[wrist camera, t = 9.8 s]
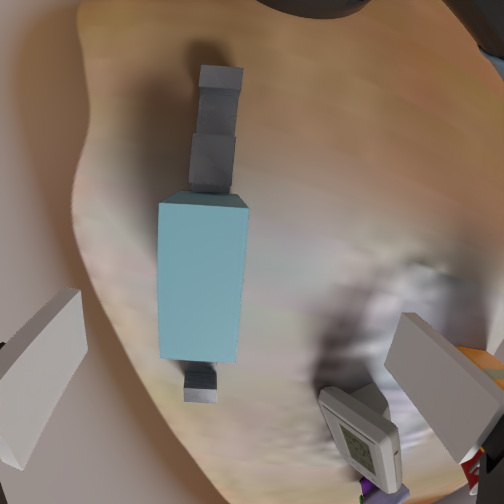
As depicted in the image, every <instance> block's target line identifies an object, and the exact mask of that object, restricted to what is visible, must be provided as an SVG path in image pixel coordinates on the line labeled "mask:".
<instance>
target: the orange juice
mask: <svg viewBox="0 0 504 504" xmlns="http://www.w3.org/2000/svg"><path fill="white" fill-rule="evenodd" d="M456 348H457V349H458V350H459V351H461V352H462V353H463V354H464V355H465V356H466V357H467V358H468V359H470V360H471V361H472V362H473V363H474V364H475V365H476V366H477V367H478V368H480V369H481V370H482V371H483V372H484V373H485V374H486V375H487V376H488V377H489V378H490V379H492V380H493V381H494V382H495V383H496V384H497V385H498V386H499V387H500V388H501V389H502V390H503V391H504V365H503V364H502V363H501V362H500V361H498V360H497V359H496V358H495V357H493V356H492V355H491V354H490V353H488V352H487V351H484V350H478V349H472V348H466V347H460V346H457V347H456ZM480 449H481V451H482V452H484V451H485V450H484V449H483V448H482V447H480Z"/></svg>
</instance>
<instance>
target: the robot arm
mask: <svg viewBox="0 0 504 504" xmlns="http://www.w3.org/2000/svg"><path fill="white" fill-rule="evenodd" d="M257 1H259V2H261V3H263V4H264V5H267V6H269V7H271V8H273V9H276V10H278V11H281V12H284V13H287V14H291V15H295V16H299V17H305V18H313V19H335V18H341V17H345V16H348V15H351V14H353V13H356V12H357V11H359V10H360V9H362V8H363V7H364V6H365V5H366V4H367V3H368V2H369V1H370V0H257ZM442 1H443V2H444V3H445V4H446V5H447V6H448V7H449V9H450V10H451V11H452V12H453V13H454V14H455V16H456V17H457V18H458V19H459V20H460V22H461V23H462V24H463V25H464V27H465V28H466V29H467V30H468V32H469V33H470V34H471V36H472V37H473V38H474V40H475V41H476V42H477V45H478V47H479V50H480V52H481V53H482V54H483V55H484V56H485V57H486V58H487V59H489V60H490V62H491V63H492V65H493V66H494V67H495V69H496V70H497V72H498V73H499V75H500V76H501V78H502V79H503V81H504V0H442ZM87 351H88V348H87V342H86V334H85V327H84V319H83V310H82V300H81V291H80V290H78V289H70V288H65V287H64V288H63V289H62V290H61V291H60V292H58V293H57V294H56V295H55V296H54V297H53V298H52V299H51V300H50V301H49V302H48V303H47V304H46V305H45V306H44V307H42V308H41V309H40V310H39V311H38V312H37V313H36V314H35V315H34V316H33V317H32V318H31V319H30V320H29V321H28V322H27V323H26V324H25V325H24V326H23V327H22V328H21V329H20V330H19V331H18V332H17V333H16V334H15V335H14V336H13V337H12V338H11V339H10V340H9V341H8V342H7V343H4V342H2V343H0V458H1V460H2V461H3V462H4V463H7V464H9V465H11V466H13V467H15V468H18V469H20V470H22V471H24V468H25V466H26V464H27V462H28V460H29V458H30V456H31V454H32V451H33V449H34V447H35V445H36V443H37V441H38V439H39V437H40V435H41V433H42V431H43V429H44V427H45V425H46V423H47V421H48V420H49V418H50V416H51V414H52V412H53V410H54V408H55V406H56V404H57V403H58V401H59V399H60V397H61V395H62V394H63V392H64V390H65V388H66V387H67V385H68V383H69V381H70V379H71V378H72V376H73V374H74V373H75V371H76V369H77V367H78V366H79V364H80V362H81V361H82V359H83V357H84V356H85V354H86V352H87ZM384 366H385V367H386V368H387V370H388V371H389V372H390V374H391V375H392V376H393V378H394V379H395V380H396V381H397V383H398V384H399V385H400V387H401V388H402V389H403V391H404V392H405V393H406V395H407V396H408V397H409V399H410V400H411V401H412V403H413V404H414V405H415V407H416V408H417V409H418V411H419V412H420V413H421V415H422V416H423V417H424V419H425V420H426V421H427V423H428V424H429V425H430V427H431V428H432V429H433V431H434V432H435V433H436V435H437V436H438V438H439V439H440V440H441V442H442V443H443V444H444V446H445V447H446V449H447V450H448V451H449V453H450V454H451V456H452V457H453V458H454V460H455V461H456V463H457V464H458V465H459V464H461V463H463V462H466V461H468V460H470V459H472V458H473V456H474V455H475V454H476V453H477V451H478V450H479V449H480V447H482V448H483V449H484V450H485V451H484V452H483V454H482V455H481V456H480V457H479V459H478V460H477V461H476V462H475V464H474V465H473V466H472V467H471V468H470V470H469V473H472V472H473V471H474V469H475V468H476V467H479V468H478V470H477V471H476V472H475V473H474V474H476V475H479V480H478V491H477V500H476V504H504V391H503V390H502V389H501V388H500V387H499V386H498V385H497V384H496V383H495V382H494V381H493V380H492V379H490V378H489V377H488V376H487V375H486V374H485V373H484V372H483V371H482V370H481V369H480V368H478V367H477V366H476V365H475V364H474V363H473V362H472V361H471V360H470V359H468V358H467V357H466V356H465V355H464V354H463V353H462V352H461V351H459V350H458V349H457V348H456V347H455V346H454V345H453V344H451V343H450V342H449V341H448V340H447V339H446V338H444V337H443V336H442V335H441V334H440V333H439V332H437V331H436V330H435V329H434V328H433V327H432V326H430V325H429V324H428V323H427V322H426V321H424V320H423V319H422V318H421V317H420V316H418V315H417V314H416V313H415V312H414V313H402V314H401V317H400V320H399V323H398V326H397V329H396V332H395V335H394V338H393V341H392V344H391V347H390V349H389V352H388V355H387V357H386V360H385V363H384ZM0 504H7V501H6V498H5V495H4V492H3V489H2V486H1V483H0Z"/></svg>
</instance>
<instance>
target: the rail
mask: <svg viewBox="0 0 504 504" xmlns="http://www.w3.org/2000/svg"><path fill="white" fill-rule="evenodd" d="M242 77H243V68H239V67H228V66H215V65H201V71H200V78H199V85H198V87H199V92H200V99H199V107H198V116H197V125H196V134H193V136H192V146H191V157H190V169H189V181H188V183H191V191H195V192H211V193H226V194H229V187H230V186H231V183H232V173H233V162H234V152H235V142H236V137H234V135H235V125H236V116H237V106H238V97H239V94H240V91H241V85H242ZM216 373H217V362H207V361H189V360H185V379H184V402H198V403H216V401H217V374H216Z"/></svg>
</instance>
